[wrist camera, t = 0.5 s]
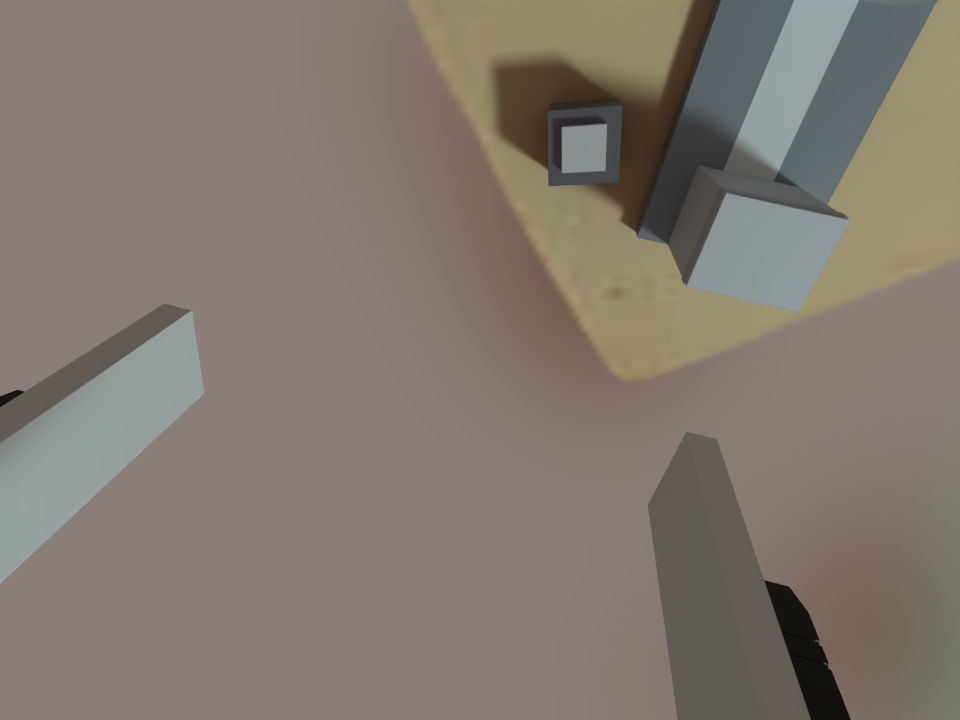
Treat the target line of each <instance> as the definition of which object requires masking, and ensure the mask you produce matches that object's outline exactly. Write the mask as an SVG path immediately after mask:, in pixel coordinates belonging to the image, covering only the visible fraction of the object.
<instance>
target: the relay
mask: <svg viewBox="0 0 960 720" xmlns="http://www.w3.org/2000/svg"><path fill="white" fill-rule="evenodd" d="M622 109H623V105H622V104H621V102H620V101H619V99H612V100H600V101H587V102H575V103H562V104H551V105H550V107H549V109H548V111H547V119H548V178H549V186H559V185H579V184H599V183H619V169H620V149H621V129H622Z"/></svg>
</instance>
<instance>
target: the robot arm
mask: <svg viewBox="0 0 960 720" xmlns="http://www.w3.org/2000/svg"><path fill="white" fill-rule="evenodd" d="M203 393H204V389H203V382H202V376H201V369H200V363H199V356H198V349H197V342H196V336H195V329H194V324H193V316H192V310H188V309H184V308H180V307H176V306H172V305H168V304H163V305H161V306H160V307H158V308H157V309H155V310H153V311H152V312H150V313H149V314H147V315H146V316H144V317H142V318H141V319H139V320H138V321H136V322H135V323H133V324H131V325H130V326H128V327H127V328H125V329H123V330H122V331H120V332H119V333H117V334H116V335H114V336H112V337H111V338H109V339H108V340H106V341H104V342H103V343H101V344H100V345H98V346H96V347H95V348H93V349H92V350H90V351H89V352H87V353H86V354H84V355H82V356H81V357H79V358H77V359H76V360H74V361H73V362H71V363H70V364H68V365H66V366H65V367H63V368H62V369H60V370H58V371H57V372H56V373H54V374H52V375H51V376H49V377H47V378H46V379H44V380H43V381H41V382H40V383H38V384H36V385H35V386H33V387H32V388H30V389H28V390H27V391H25V392H24V391H20V390H16V391H13V392H11V393H8V394H5V395H3V396H0V583H1V582H2V581H3V580H4V579H6V577H8V576H9V575H10V574H11V573H12V572H13V571H14V570H15V569H16V568H17V567H18V566H19V565H21V563H23V562H24V561H25V560H26V559H27V558H28V557H29V556H30V555H31V554H32V553H33V552H34V551H35V550H37V549H38V548H39V547H40V546H41V545H42V544H43V543H44V542H45V541H46V540H47V539H48V538H49V537H50V536H51V535H53V534H54V533H55V532H56V531H57V530H58V529H59V528H60V527H61V526H62V525H63V524H64V523H65V522H67V520H69V519H70V518H71V517H72V516H73V515H74V514H75V513H76V512H77V511H78V510H79V509H80V508H81V507H82V506H84V504H86V503H87V502H88V501H89V500H90V499H91V498H92V497H93V496H94V495H95V494H97V493H98V492H99V491H100V490H101V489H102V488H103V487H104V486H105V485H106V484H107V483H108V482H109V481H110V480H111V479H113V478H114V477H115V476H116V475H117V474H118V473H119V472H120V471H121V470H122V469H123V468H124V467H125V466H126V465H128V464H129V463H130V462H131V461H132V460H133V459H134V458H135V457H136V456H137V455H138V454H139V453H140V452H141V451H142V450H144V449H145V448H146V447H147V446H148V445H149V444H150V443H151V442H152V441H153V440H154V439H155V438H156V437H158V436H159V435H160V433H162V432H163V431H164V430H165V429H166V428H167V427H168V426H169V425H170V424H171V423H172V422H174V421H175V420H176V419H177V418H178V417H179V416H180V415H181V414H182V413H183V412H184V411H185V410H186V409H187V408H189V406H191V405H192V404H193V403H194V402H195V401H196V400H197V399H198V398H199V397H200V396H201V395H202V394H203ZM648 509H649V517H650V523H651V531H652V538H653V545H654V553H655V560H656V566H657V574H658V581H659V588H660V595H661V602H662V610H663V617H664V623H665V631H666V638H667V645H668V653H669V660H670V666H671V674H672V681H673V688H674V696H675V702H676V710H677V717H678V720H851V719H850V717H849V714H848V712H847V709H846V706H845V704H844V701H843V699H842V696H841V694H840V691H839V689H838V686H837V684H836V681H835V678H834V676H833V673H832V671H831V670H829V669H828V665H829V663H828V661H827V658H826V656H825V653H824V651H823V648H822V646H820V645H819V638H818V636H817V633H816V630H815V628H814V625H813V623H812V620H811V618H810V615H809V613H808V612H807V610H806V609H805V607H804V606H803V605H802V603H801V602H800V601H799V600H798V598H797V597H796V595H795V594H794V593H793V591H792V590H791V589H790V587H788V586H784V585H780V584H777V583H773V582H769V581H765V580H764V578H763V576H762V573H761V570H760V567H759V564H758V561H757V558H756V555H755V552H754V549H753V546H752V543H751V540H750V537H749V534H748V531H747V528H746V525H745V522H744V519H743V516H742V513H741V510H740V507H739V504H738V501H737V498H736V495H735V492H734V489H733V486H732V483H731V480H730V477H729V474H728V471H727V468H726V466H725V462H724V459H723V456H722V453H721V450H720V447H719V444H718V441H717V439H714V438H710V437H706V436H702V435H697V434H694V433H689V432H686V434H685V436H684V438H683V439H682V441H681V443H680V445H679V447H678V449H677V451H676V453H675V454H674V456H673V458H672V460H671V462H670V464H669V466H668V468H667V470H666V472H665V474H664V476H663V477H662V480H661V481H660V483H659V485H658V487H657V489H656V491H655V492H654V494H653V496H652V498H651V500H650V502H649V504H648Z"/></svg>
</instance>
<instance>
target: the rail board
mask: <svg viewBox="0 0 960 720" xmlns="http://www.w3.org/2000/svg"><path fill="white" fill-rule="evenodd" d="M936 2H937V0H716V3H715V6H714V9H713V12H712V15H711V18H710V21H709V23H708V26H707V29H706V32H705V35H704V38H703V41H702V43H701V46H700V49H699V52H698V55H697V58H696V61H695V64H694V66H693V69H692V72H691V75H690V78H689V81H688V84H687V87H686V89H685V92H684V95H683V98H682V101H681V104H680V107H679V110H678V112H677V115H676V118H675V121H674V124H673V127H672V130H671V133H670V135H669V138H668V141H667V144H666V147H665V150H664V153H663V155H662V158H661V161H660V164H659V167H658V170H657V173H656V176H655V178H654V181H653V184H652V187H651V190H650V193H649V196H648V199H647V201H646V204H645V207H644V210H643V213H642V216H641V219H640V222H639V224H638V227H637V230H636V234H637V237H638V238H642V239H647V240H651V241H656V242H660V243H665V244H668V246H669V248H670V250H671V253H672V255H673V257H674V259H675V262H676V264H677V266H678V268H679V271H680V273H681V275H682V278H681V279H682V281H683V283H684V284H686V286H687V287H691V288H696V289H700V290H704V291H709V292H713V293H717V294H722V295H726V296H731V297H735V298H739V299H744V300H748V301H752V302H757V303H761V304H766V305H770V306H774V307H779V308H783V309H787V310H792V311H796V312H799V310H800V308H801V306H802V305H803V303H804V301H805V300H806V298H807V296H808V294H809V293H810V291H811V289H812V287H813V286H814V284H815V282H816V280H817V279H818V277H819V275H820V273H821V272H822V270H823V268H824V266H825V265H826V263H827V261H828V259H829V258H830V256H831V254H832V252H833V251H834V249H835V247H836V246H837V244H838V242H839V240H840V239H841V237H842V235H843V233H844V232H845V230H846V228H847V226H848V225H849V223H850V221H851V220H849V219H848V218H849V217H847V216H846V215H844V214H843V213H840V212H837V211H835V210H834V209H832V208H831V207H829V206H828V205H827V204H828V202H829V200H830V198H831V196H832V195H833V193H834V191H835V189H836V187H837V185H838V183H839V182H840V180H841V178H842V176H843V174H844V172H845V170H846V169H847V167H848V165H849V163H850V161H851V159H852V158H853V156H854V154H855V152H856V150H857V148H858V146H859V145H860V143H861V141H862V139H863V137H864V135H865V133H866V132H867V130H868V128H869V126H870V124H871V122H872V120H873V119H874V117H875V115H876V113H877V111H878V109H879V107H880V106H881V104H882V102H883V100H884V98H885V96H886V94H887V93H888V91H889V89H890V87H891V85H892V83H893V82H894V80H895V78H896V76H897V74H898V72H899V70H900V69H901V67H902V65H903V63H904V61H905V59H906V57H907V56H908V54H909V52H910V50H911V48H912V46H913V44H914V43H915V41H916V39H917V37H918V35H919V33H920V31H921V30H922V28H923V26H924V24H925V22H926V20H927V18H928V17H929V15H930V13H931V11H932V9H933V7H934V6H935V4H936Z"/></svg>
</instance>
